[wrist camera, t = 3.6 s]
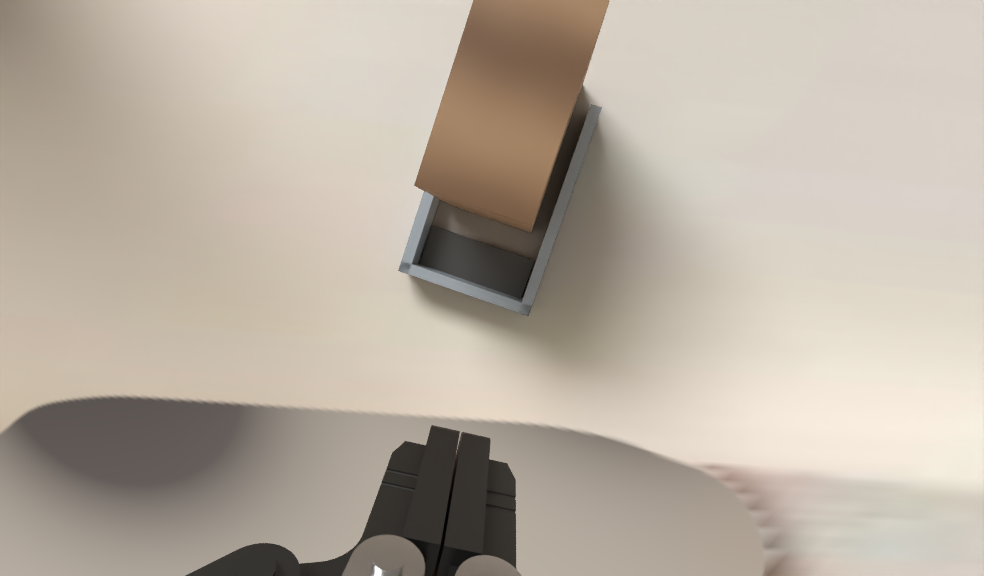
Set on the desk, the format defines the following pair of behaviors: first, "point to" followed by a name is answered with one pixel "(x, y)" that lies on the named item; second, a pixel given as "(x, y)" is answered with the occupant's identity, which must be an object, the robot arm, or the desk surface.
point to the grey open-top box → (488, 248)
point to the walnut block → (509, 105)
